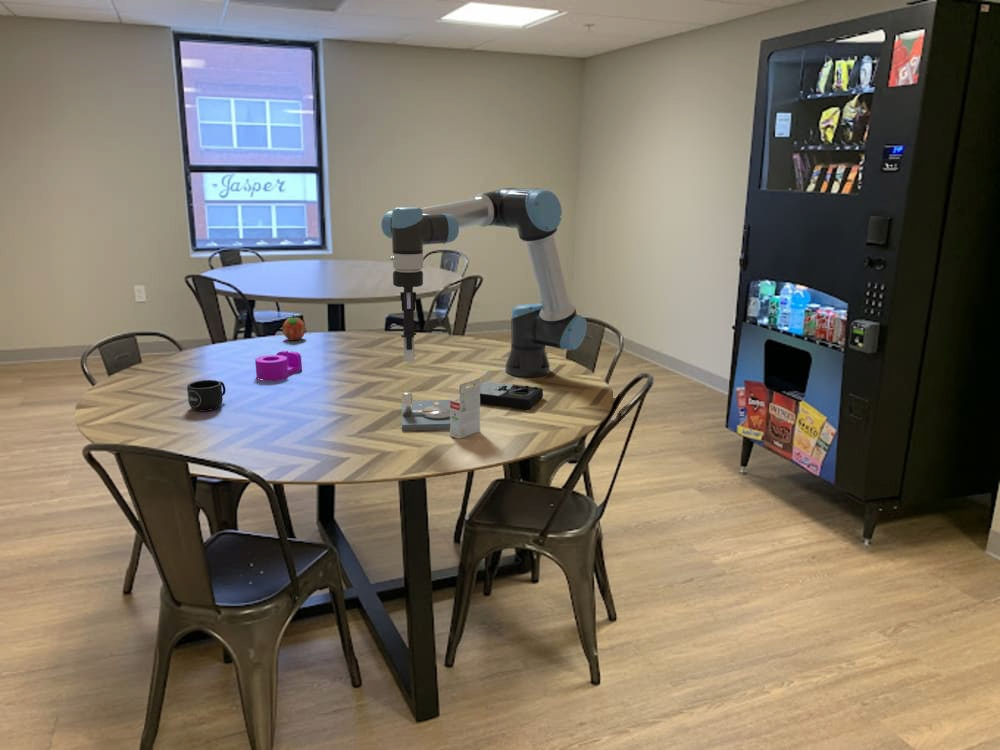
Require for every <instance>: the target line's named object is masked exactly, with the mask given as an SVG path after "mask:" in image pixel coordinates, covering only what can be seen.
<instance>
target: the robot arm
mask: <svg viewBox="0 0 1000 750" xmlns="http://www.w3.org/2000/svg"><path fill="white" fill-rule="evenodd" d="M562 210H563V209H562V205H561V202H560V199H559V198H558V196H557V195H556V194H555V193H554V192H552V191H551V190H547V189H542V188H539V187H538V188H518V187H517V188H516V187H505V188H500V189H496V190H491V191H488V192H487V191H486V192H484V193H478V194H475V196H473V197H472V198H470V199H465V200H459V201H453V202H449V203H448V202H447V203H442V204H436V205H432V206H431V205H430V206H426V207H418V206H417V207H414V206H410V207H409V206H406V207H405V206H397V207H395V208H393V209H392V210H390V211H388V212H386V213H385V214H384V215H383V217H382V219H381V224H380V225H381V231H382V232H383V235H384V236H385V237H387V238H388V239H391V241H392V243H391V245H392V256H390V257H389V260H390V261H392V268H393V269H394V270H393V271H392V284H393V286H394V287H398V288H403V292H402V291H400V292H399V293H400V301H401V311H402V313H403V328H402V329H403V332H402V333H403V334H401V335H400V337H401V338H403V362H405V363H406V362H410V363H411V362H412V363H413V362H415V336H417V332H416V331H415V323H414V322H415V317H414V316H415V311H416V301H417V291H415V292H414V288H418V287H421V286H423V285H424V272H423V268H424V253H423V251H424V246H426V245H439V244H442V245H443V244H444V245H446V244H448V243H452V242H455V240H456V239H457V238H458V236H459V233H460V231H459V230H460V229H462V228H463V229H464V228H467V227H471V226H472V227H473V226H479V227H488V226H489V227H491V226H495V227H504V228H511V229H516V230H517V233H518V237H519V239H520V241H522V242H524V243H525V244H526V247H527V252H528V255H529V259H530V263H531V267H532V272H533V274H534V275H533V276H534V280H535V283H536V287H537V292H538V295H539V299H540V303H528V304H527V303H526V304H520V305H516V306H514V307H513V309H512V311H511V318H510V320H511V325H510V326H511V327H510V329H511V330H510V331H511V332H510V334H511V335H510V351H509V353H508V357H507V360H506V362H505V369H504V370H505V373H507V374H509V375H511V376H515V377H520V378H521V377H524V378H536V376H538V377H543V376H542V375H544V376H547V375H548V373H549V374H550V370H551V368H550V367H551V365H550V362H549V361H550V360H549V358H548V355H547V351H546V346H547V347H550V348H556V349H560V350H562V351H564V350H566V351H574V350H576V349H577V348H579V347H580V345H582V342H584V338H585V336H586V334H587V329H588V328H587V327H588V325H587V319H586V318H585V317H584V316H583V315H581V314H577V310H576V306H575V304H574V303H573V302H572V301H569V296H568V292H567V287H566V283H565V279H564V273H563V270H562V266H561V261H560V257H559V253H558V249H557V244H556V241H555V240H556V239H555V234H556V233H557V232H558V227H559V225H560V223H561V220H562V218H561V216H562V215H563V211H562ZM546 374H547V375H546ZM533 376H534V377H533Z"/></svg>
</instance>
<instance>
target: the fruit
mask: <svg viewBox="0 0 1000 750" xmlns="http://www.w3.org/2000/svg"><path fill="white" fill-rule="evenodd" d="M305 333H306V325H305V323H304V321H303V320H302V318H301V317H299V316H295V315H294V314H292V317H289V318H287V319H286V320H285V321H284V323H283V324H282V334H283V335H284V337H286V339H287V340H290V341H299V340H301V339H302V338H303V337H304V336H305Z"/></svg>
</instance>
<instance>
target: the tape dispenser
mask: <svg viewBox="0 0 1000 750" xmlns="http://www.w3.org/2000/svg"><path fill="white" fill-rule="evenodd" d="M254 361H255V362H254V363H255V373H256V374H255V375H256V379H257V378H259V379H263V380H275V381H281V380H285V379H287V378H288V377H289V376H291V375H293V374H296V373H298V372H300V371H302V369H303V368H302V367H303V366H302V364H303V363H302V355H301V353H299V352H298V351H289V350H280V351H278V352H277V353H276V354H269V355H261V356H258V357H256V358H255V359H254ZM290 374H291V375H290ZM288 375H289V376H288ZM286 377H287V378H286ZM284 378H285V379H284ZM259 379H258V380H259ZM280 379H281V380H280ZM263 380H262V381H263Z"/></svg>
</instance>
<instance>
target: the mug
mask: <svg viewBox="0 0 1000 750" xmlns="http://www.w3.org/2000/svg"><path fill="white" fill-rule="evenodd" d="M186 389H187V400H188V401H187V402H188V405H189V407H190V408H191V409H193V410H194V411H195V410H196V411H198V410H210V409H214V410H215V408H216V409H218V408H219V407H221V406H222V404H223V400H224V399H223V398H224V397H223V396H225V394H226V386H225V383H224V382H223V381H219V380H216V379H215V380H214V379H204V380H203V379H201V380H196V381H193V382H190V383H188V384H187V385H186ZM210 411H211V410H210Z"/></svg>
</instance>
